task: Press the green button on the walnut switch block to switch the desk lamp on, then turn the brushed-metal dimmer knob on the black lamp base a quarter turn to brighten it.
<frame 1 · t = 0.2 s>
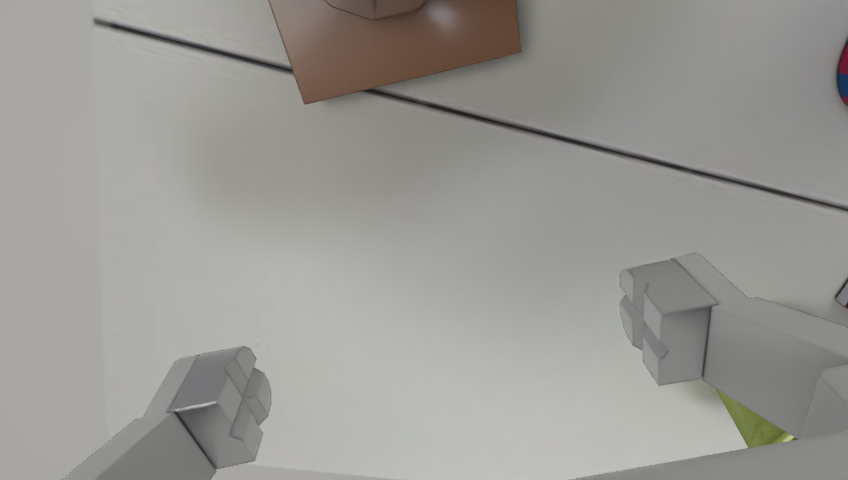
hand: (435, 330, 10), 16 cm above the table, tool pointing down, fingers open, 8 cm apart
plant pot: (744, 349, 34), on the table
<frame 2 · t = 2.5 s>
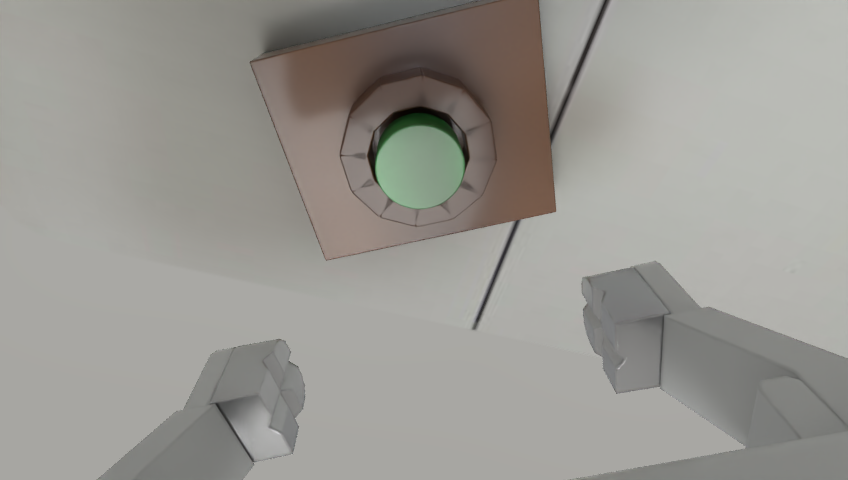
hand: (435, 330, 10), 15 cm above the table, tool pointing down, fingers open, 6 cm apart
lamp button: (419, 161, 19), point 4 cm above the table, slide at 0.1 cm
switch block: (416, 130, 23), on the table
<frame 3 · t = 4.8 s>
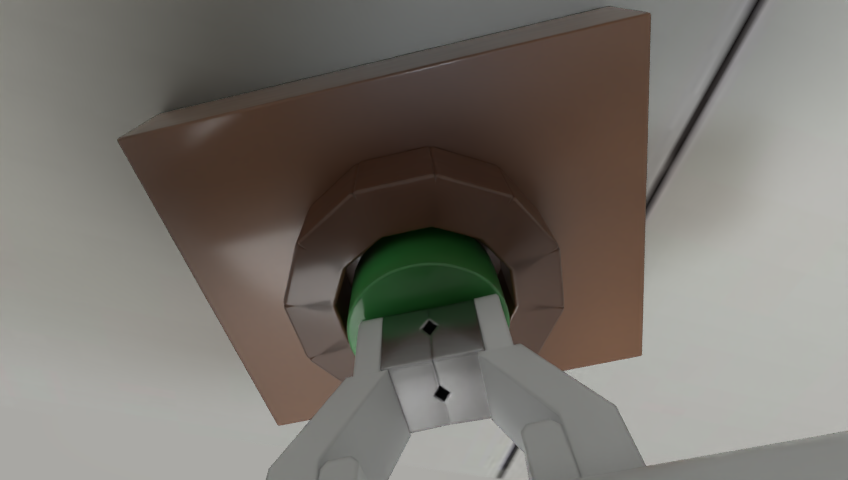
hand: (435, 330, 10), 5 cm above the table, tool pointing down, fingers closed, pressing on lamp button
lamp button: (426, 307, 11), point 4 cm above the table, slide at -0.4 cm, touching gripper
switch block: (419, 227, 15), on the table
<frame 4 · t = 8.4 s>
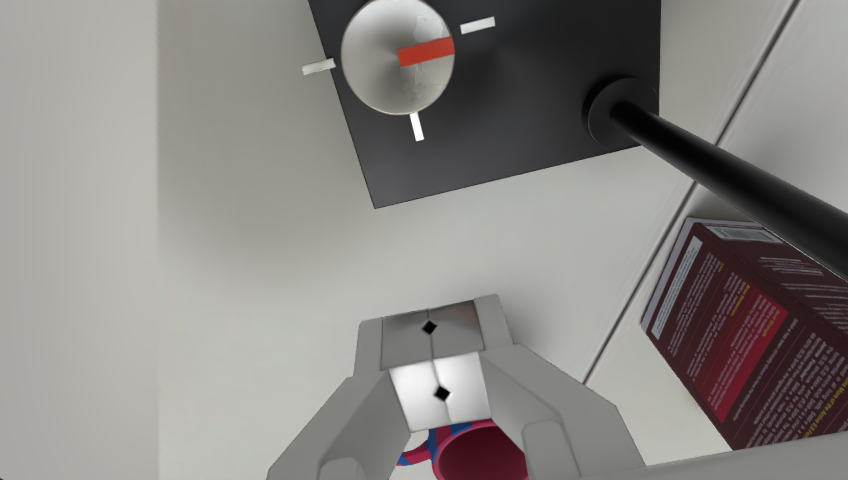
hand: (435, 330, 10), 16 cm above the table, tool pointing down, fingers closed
desk lamp: (591, 96, 24), resting on lamp base
dimmer knob: (397, 52, 18), point 5 cm above the table, hinge at 0.0°
mug: (448, 372, 33), on the table
supplement box: (693, 273, 30), on the table
lamp base: (483, 38, 22), on the table
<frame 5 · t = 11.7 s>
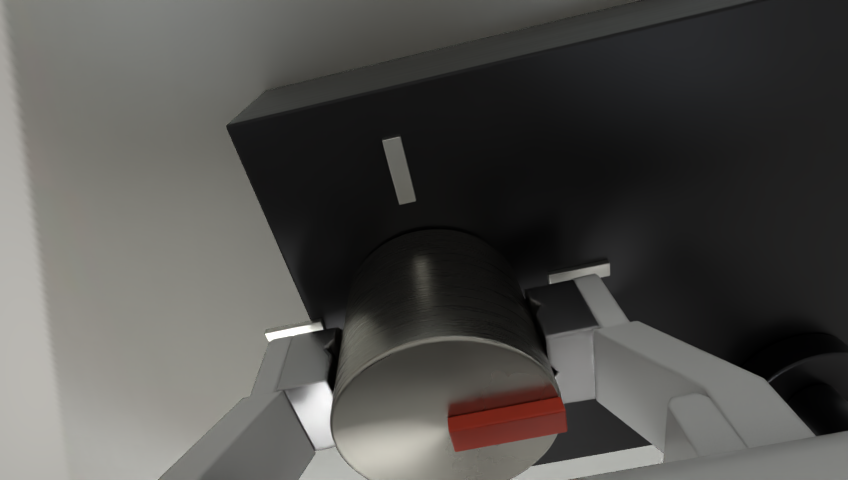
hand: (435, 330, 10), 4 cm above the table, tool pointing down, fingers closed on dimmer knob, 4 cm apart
desk lamp: (723, 309, 16), resting on lamp base
dimmer knob: (440, 360, 9), point 5 cm above the table, hinge at 0.1°, touching gripper
lamp base: (565, 238, 14), on the table
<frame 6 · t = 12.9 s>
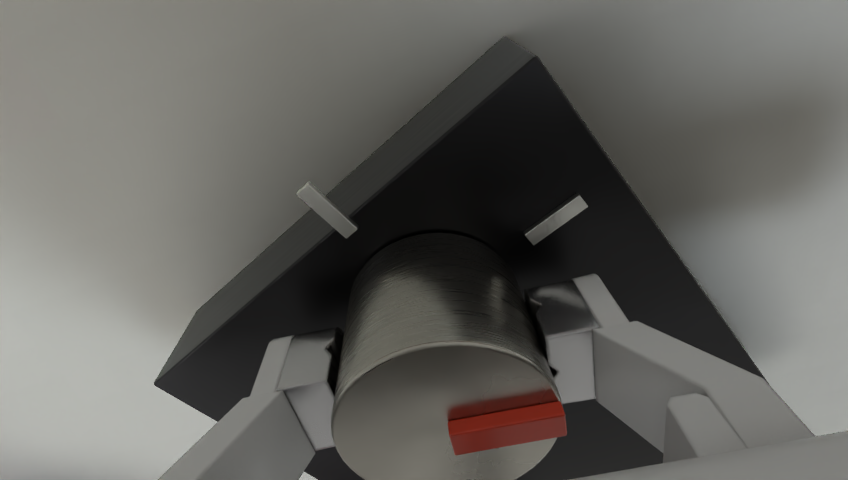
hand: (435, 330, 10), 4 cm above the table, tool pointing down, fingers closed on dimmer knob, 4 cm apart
dimmer knob: (440, 363, 9), point 5 cm above the table, hinge at 61.2°, touching gripper
lamp base: (483, 334, 16), on the table
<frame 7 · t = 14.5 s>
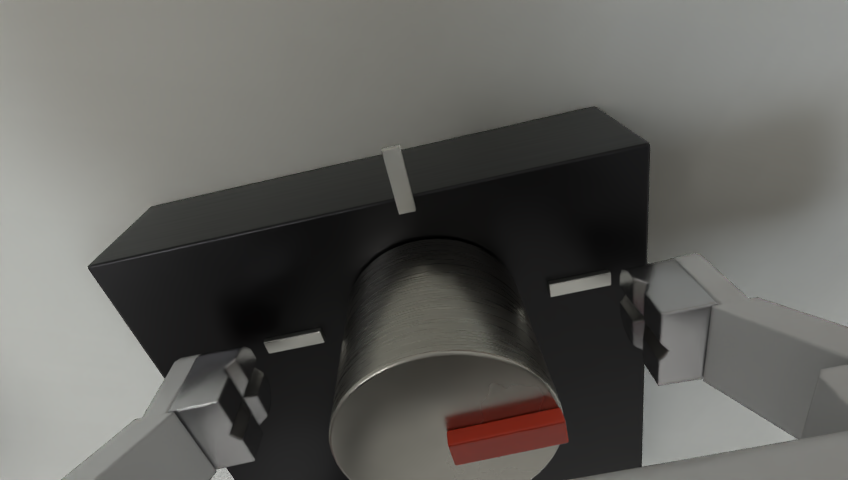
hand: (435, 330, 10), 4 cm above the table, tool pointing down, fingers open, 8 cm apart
dimmer knob: (440, 371, 9), point 5 cm above the table, hinge at 92.3°
lamp base: (423, 352, 16), on the table
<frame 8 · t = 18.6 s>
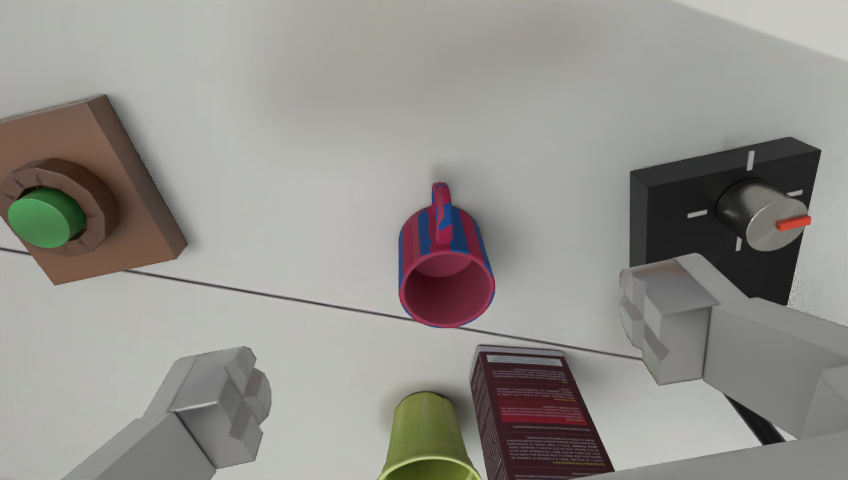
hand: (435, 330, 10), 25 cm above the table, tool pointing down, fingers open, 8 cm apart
lamp button: (47, 217, 31), point 4 cm above the table, slide at 0.1 cm
desk lamp: (651, 289, 42), resting on lamp base
dimmer knob: (761, 215, 33), point 5 cm above the table, hinge at 92.3°
switch block: (86, 190, 35), on the table
mug: (441, 222, 38), on the table
supplement box: (515, 363, 46), on the table
plant pot: (424, 409, 48), on the table
lamp base: (702, 232, 39), on the table
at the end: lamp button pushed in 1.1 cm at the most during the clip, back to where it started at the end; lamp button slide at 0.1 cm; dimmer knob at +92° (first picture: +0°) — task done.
